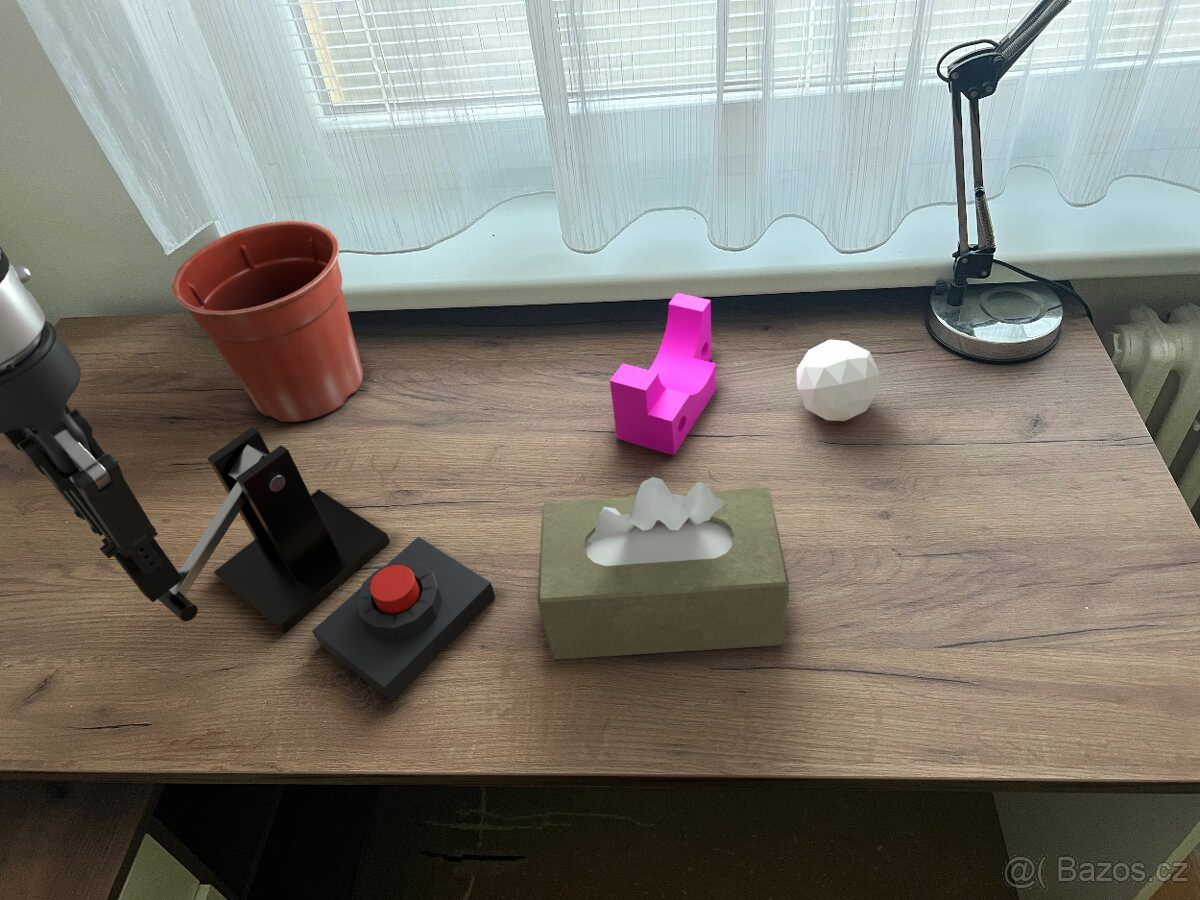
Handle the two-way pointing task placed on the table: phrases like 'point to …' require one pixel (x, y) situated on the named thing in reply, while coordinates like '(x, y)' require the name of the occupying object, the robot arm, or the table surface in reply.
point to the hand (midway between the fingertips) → (163, 586)
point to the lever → (210, 539)
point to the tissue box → (662, 572)
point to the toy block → (668, 381)
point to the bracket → (289, 536)
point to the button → (394, 589)
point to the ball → (837, 380)
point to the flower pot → (276, 316)
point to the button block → (405, 620)
